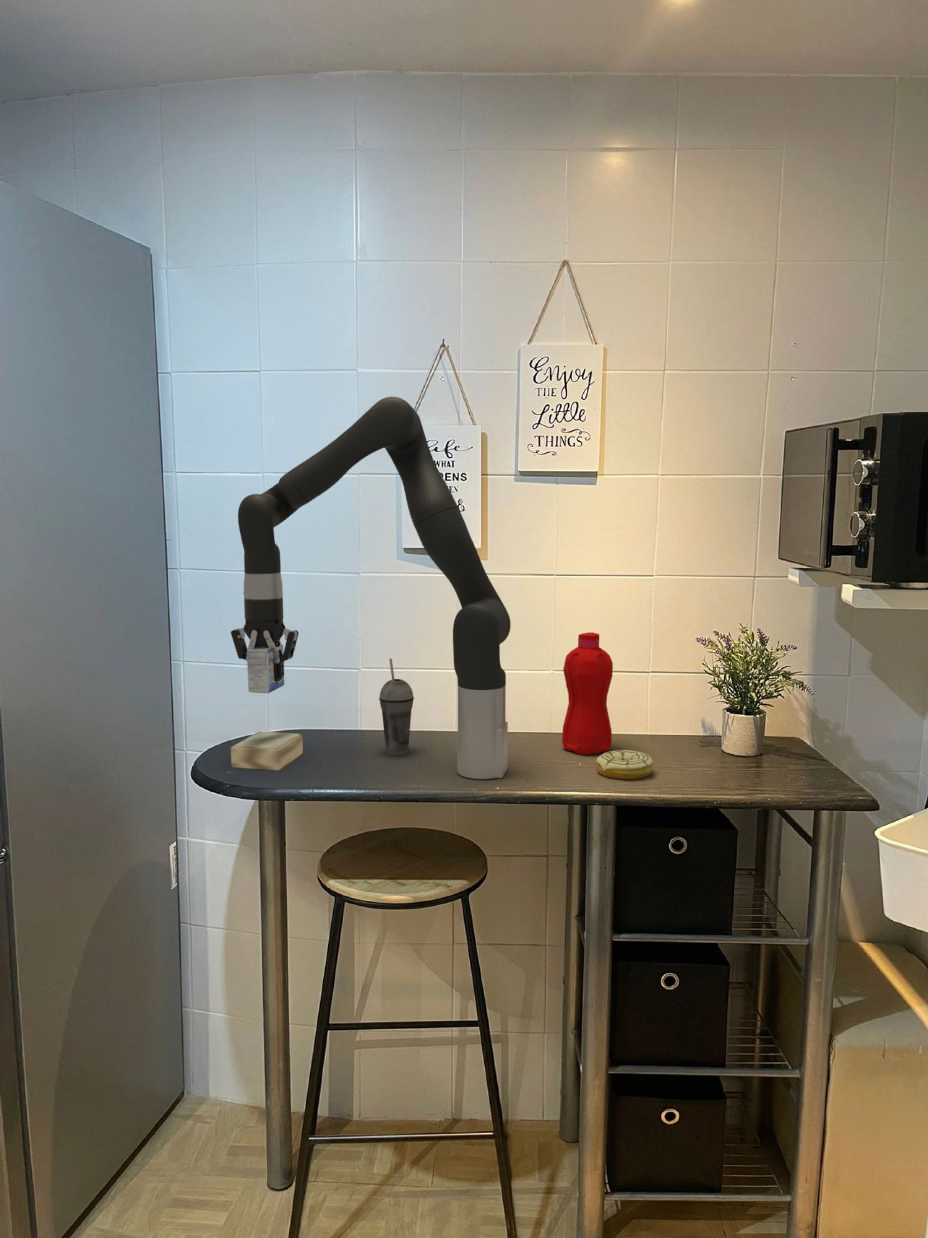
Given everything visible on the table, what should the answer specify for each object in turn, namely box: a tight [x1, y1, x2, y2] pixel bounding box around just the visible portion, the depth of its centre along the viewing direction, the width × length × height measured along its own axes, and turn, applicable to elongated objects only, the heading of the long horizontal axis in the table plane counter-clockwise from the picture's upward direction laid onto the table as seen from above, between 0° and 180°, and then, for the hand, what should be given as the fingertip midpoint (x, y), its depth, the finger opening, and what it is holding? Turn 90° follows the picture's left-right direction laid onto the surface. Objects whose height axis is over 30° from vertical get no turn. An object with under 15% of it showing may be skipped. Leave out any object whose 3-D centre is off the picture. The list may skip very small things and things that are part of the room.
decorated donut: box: [596, 749, 654, 780], centre depth 169 cm, size 10×11×4 cm
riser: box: [230, 731, 304, 771], centre depth 177 cm, size 10×12×4 cm
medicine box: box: [246, 644, 285, 694], centre depth 175 cm, size 8×4×9 cm, turn 168°
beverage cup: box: [378, 658, 415, 756], centre depth 182 cm, size 7×7×20 cm
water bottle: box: [561, 631, 614, 756], centre depth 184 cm, size 9×11×25 cm
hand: (266, 680), depth 175 cm, fingers closed on medicine box, 4 cm apart
